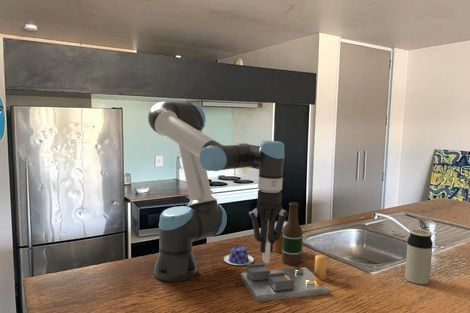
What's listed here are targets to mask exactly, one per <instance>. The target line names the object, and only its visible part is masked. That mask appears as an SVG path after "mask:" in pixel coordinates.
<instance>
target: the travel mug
mask: <svg viewBox="0 0 470 313" xmlns="http://www.w3.org/2000/svg"><path fill="white" fill-rule="evenodd" d="M433 234H434V233H433V232H432V231H430V230H427V229H422V228H410V229H409V237H408V238H407V244H406V245H407V246H406V257H405V270H404V271H405V272H404V279H405V280H406V281H408V282H410V283H412V284H416V285H428V284H429V283H430V277H431V268H432V267H431V266H432V258H433V257H432V255H433V245H434V244H433V243H434V242H433V241H432V236H434V235H433Z"/></svg>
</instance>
